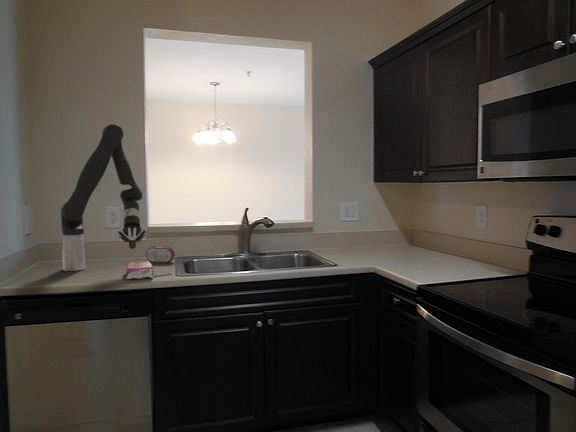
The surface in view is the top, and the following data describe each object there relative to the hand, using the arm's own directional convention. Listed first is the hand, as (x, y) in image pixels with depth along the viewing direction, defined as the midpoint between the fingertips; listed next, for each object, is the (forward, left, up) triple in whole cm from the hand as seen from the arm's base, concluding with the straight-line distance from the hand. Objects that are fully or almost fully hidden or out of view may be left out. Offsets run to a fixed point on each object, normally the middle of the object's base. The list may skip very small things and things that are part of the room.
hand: (132, 248), depth 193 cm
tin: (+21, +19, -12) cm, 31 cm away
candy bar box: (+3, +2, -9) cm, 10 cm away
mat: (+5, -8, -12) cm, 15 cm away
